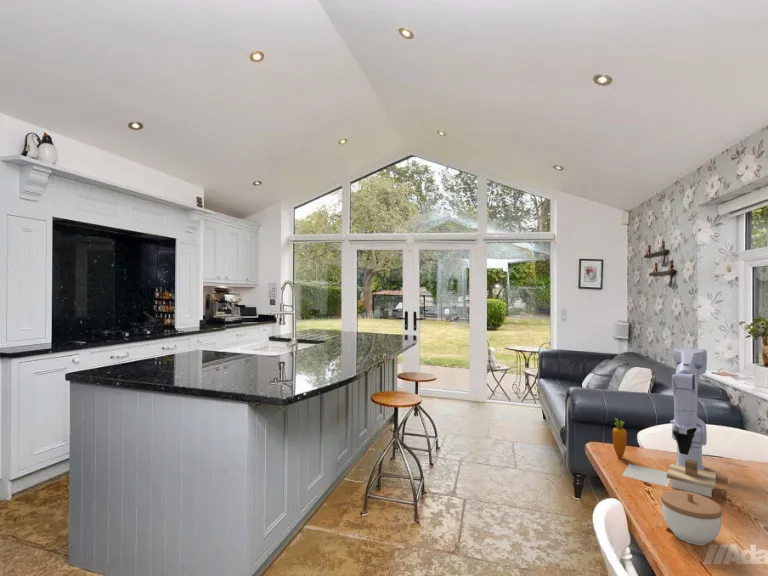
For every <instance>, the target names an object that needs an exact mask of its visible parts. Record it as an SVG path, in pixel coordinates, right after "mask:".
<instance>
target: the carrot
mask: <svg viewBox="0 0 768 576" xmlns="http://www.w3.org/2000/svg"><path fill="white" fill-rule="evenodd" d="M614 420H615V423H614V425H615V427H613V429H612V445H613V450H614V452H615V454H616V456H617V458H619V459H622V458H623V456H624V454H625V453H626V452H625V451H626V447H627V434H628V432H627V430H626V429H624V428H623V427H624V424H625V421H623V420H619V419H618V418H616V417H615V418H614Z"/></svg>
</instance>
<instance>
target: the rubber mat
mask: <svg viewBox="0 0 768 576" xmlns="http://www.w3.org/2000/svg"><path fill="white" fill-rule="evenodd" d="M667 473H668V471H667V472H666V471H662V470H658V469H654V468H649V467H644V466H640V465H635V464H631V463H628V465H627V467H626V468H625V470H624V471H623V473H622V475H621V476H623V477H625V478H629V479H630V478H631V479H635V480H637V481H641V482H642V481H643V482H646V483H651V484H654V485H659V486H661V487H665V488H668V487H669V485H670V482H671V481H672V479H669V478H667Z"/></svg>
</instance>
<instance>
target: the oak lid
mask: <svg viewBox="0 0 768 576" xmlns="http://www.w3.org/2000/svg"><path fill="white" fill-rule="evenodd" d="M667 478H669V479H671V480H672V479H674V480H678V481H682V482H686V483H691V484H695V485H699V486H703V487H708V488H712V489H713V490H715V489H716V479H717V473H716V472H714V471H709V470H705V469H704V470H700V469H698V468H697V461H694V460H689V459H686V460H685V466H681V465H677V464H676V463H670V465H669V468H668V470H667Z"/></svg>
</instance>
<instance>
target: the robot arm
mask: <svg viewBox="0 0 768 576" xmlns="http://www.w3.org/2000/svg"><path fill="white" fill-rule="evenodd" d="M673 359H674V367H675V369H676V370H675V373H673V374H672V376H671V386H672V395H673V407H674V408H673V409H674V411H673V412H674V413H673V414H674V416H673V417H674V418H673V419H672V420H670V421H669V422H670V424H672V426H671V437H672V439H673V440H674V441H675V443H676V450H677V451H676V455H677V456H676V457H677V458H676V460H677V461H676V463H675V464H677V465H681V466H685V460H686V459H689V460H694V461H697V468H698V469H700V470H705V466H706V465H704V464H703V446H704V447H705V446H706V445H707V441H708V440H707V439H708V436H707V435H708V433H707V424H706V423H705V421H703V420H702V419H701V418H699V417H698V391H699V390H698V389H699V380H700V378H701V377H700V376H701V375H704V374H706V372H707V366H708V351H707V349H705V348H701V349H700V348H688V347H687V348H685V347H677V346H676V347H675V348H674V350H673Z"/></svg>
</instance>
